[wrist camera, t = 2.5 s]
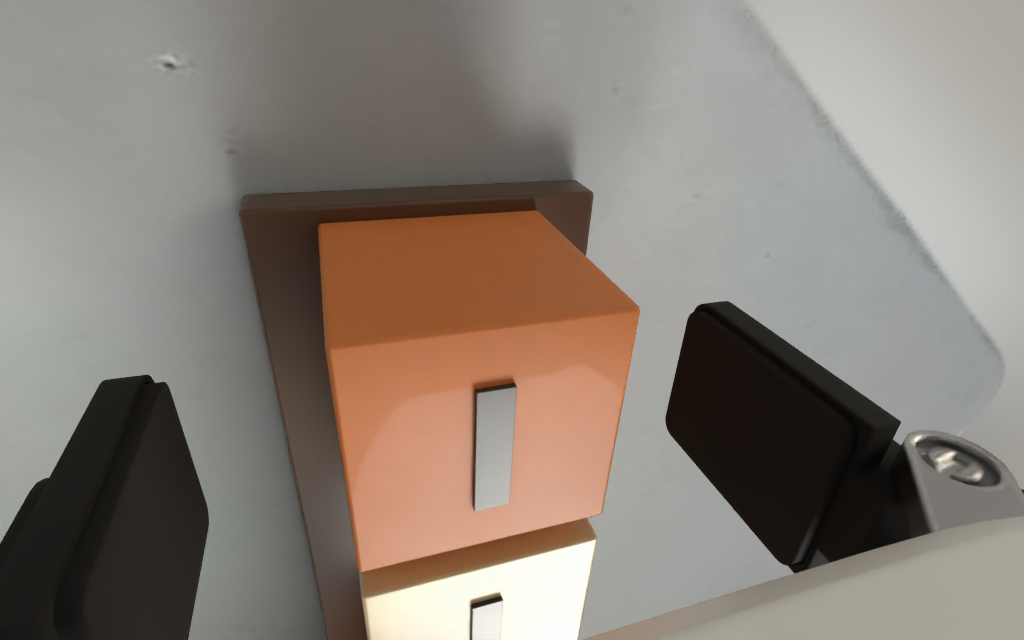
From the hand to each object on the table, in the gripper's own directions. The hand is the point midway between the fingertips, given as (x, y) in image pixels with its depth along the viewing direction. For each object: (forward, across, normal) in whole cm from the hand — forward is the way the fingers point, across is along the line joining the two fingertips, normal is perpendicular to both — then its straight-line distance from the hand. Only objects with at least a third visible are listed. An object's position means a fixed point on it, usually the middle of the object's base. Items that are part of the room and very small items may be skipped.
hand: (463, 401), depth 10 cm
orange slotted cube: (+3, 0, 0) cm, 3 cm away
